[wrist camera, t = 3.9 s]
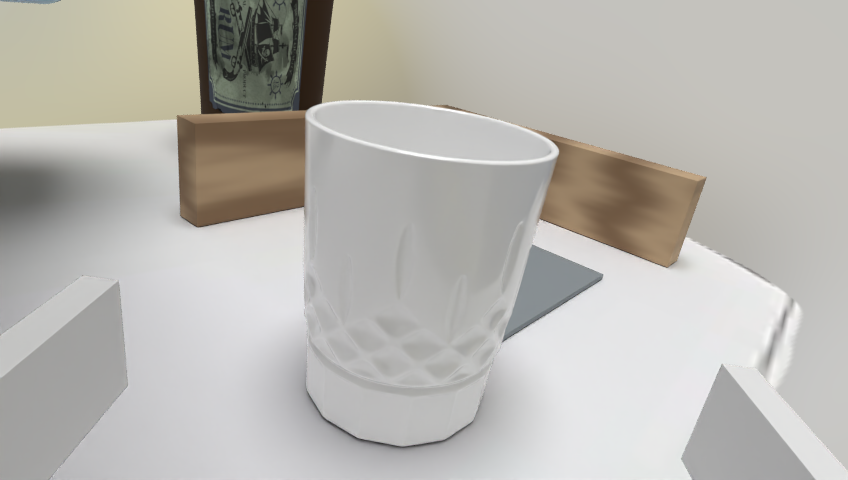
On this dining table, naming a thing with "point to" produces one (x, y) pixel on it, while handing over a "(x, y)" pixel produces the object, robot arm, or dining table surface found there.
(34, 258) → the dining table surface
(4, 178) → the dining table surface
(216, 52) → the brown bottle
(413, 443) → the white cup
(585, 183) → the corner pen
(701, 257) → the dining table surface
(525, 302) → the slate mat
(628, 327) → the dining table surface
